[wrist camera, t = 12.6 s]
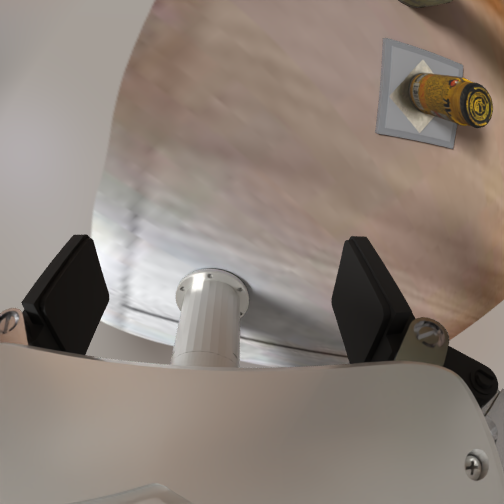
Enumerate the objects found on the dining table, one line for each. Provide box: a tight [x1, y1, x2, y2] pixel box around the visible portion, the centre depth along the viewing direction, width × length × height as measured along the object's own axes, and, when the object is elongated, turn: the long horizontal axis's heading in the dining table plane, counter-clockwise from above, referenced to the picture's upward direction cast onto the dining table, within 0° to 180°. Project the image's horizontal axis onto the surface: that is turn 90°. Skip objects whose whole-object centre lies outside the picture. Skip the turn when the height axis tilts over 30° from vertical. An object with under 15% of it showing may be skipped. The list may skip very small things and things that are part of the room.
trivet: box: [375, 38, 463, 149], centre depth 32 cm, size 14×14×1 cm
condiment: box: [389, 60, 493, 133], centre depth 27 cm, size 7×8×12 cm
